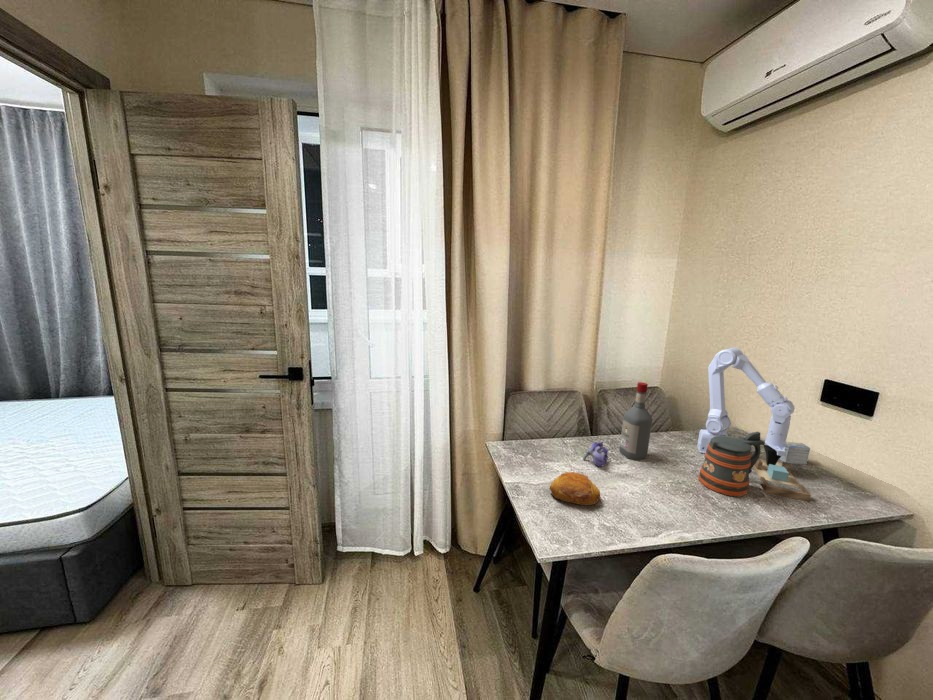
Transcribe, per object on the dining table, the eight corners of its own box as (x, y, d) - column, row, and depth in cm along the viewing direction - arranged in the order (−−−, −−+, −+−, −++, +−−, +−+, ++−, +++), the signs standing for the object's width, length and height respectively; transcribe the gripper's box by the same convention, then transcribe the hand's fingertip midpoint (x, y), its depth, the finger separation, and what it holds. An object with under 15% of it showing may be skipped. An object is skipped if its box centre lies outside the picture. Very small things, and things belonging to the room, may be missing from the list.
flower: (578, 447, 145) (604, 439, 143) (579, 447, 153) (603, 439, 151) (587, 472, 142) (614, 464, 140) (588, 471, 150) (613, 463, 148)
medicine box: (797, 462, 155) (802, 442, 153) (806, 468, 150) (810, 447, 148) (776, 461, 155) (781, 441, 154) (784, 466, 151) (789, 446, 149)
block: (771, 479, 138) (773, 470, 137) (767, 472, 142) (769, 464, 142) (786, 482, 136) (789, 473, 135) (782, 475, 141) (784, 466, 140)
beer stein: (732, 472, 145) (741, 422, 141) (769, 494, 131) (781, 439, 127) (688, 475, 141) (697, 424, 137) (722, 498, 127) (733, 442, 123)
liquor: (630, 461, 150) (640, 387, 144) (616, 450, 159) (625, 380, 153) (650, 459, 153) (660, 386, 146) (635, 448, 161) (644, 380, 155)
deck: (765, 492, 132) (767, 480, 131) (745, 459, 155) (747, 449, 154) (809, 501, 127) (812, 489, 126) (782, 466, 151) (784, 456, 150)
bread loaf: (595, 518, 118) (602, 497, 116) (545, 500, 123) (551, 478, 120) (598, 493, 131) (604, 473, 129) (553, 477, 136) (558, 457, 134)
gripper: (798, 441, 135) (790, 477, 138) (784, 427, 148) (776, 459, 151) (774, 437, 138) (766, 472, 141) (762, 423, 151) (755, 455, 154)
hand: (770, 465), depth 146 cm, fingers closed
